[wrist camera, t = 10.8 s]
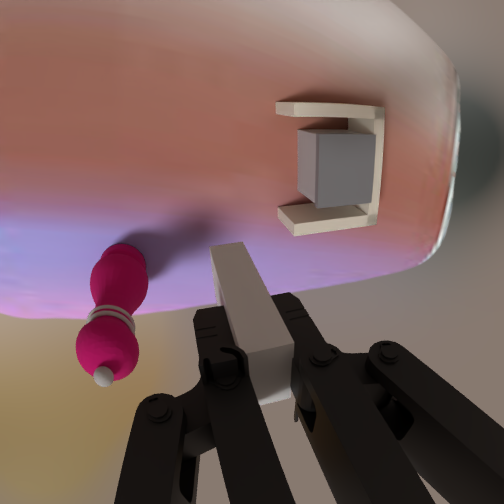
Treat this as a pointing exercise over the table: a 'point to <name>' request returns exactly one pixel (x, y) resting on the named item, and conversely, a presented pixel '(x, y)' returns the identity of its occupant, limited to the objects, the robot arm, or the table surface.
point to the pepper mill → (113, 315)
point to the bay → (339, 217)
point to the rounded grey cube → (336, 166)
